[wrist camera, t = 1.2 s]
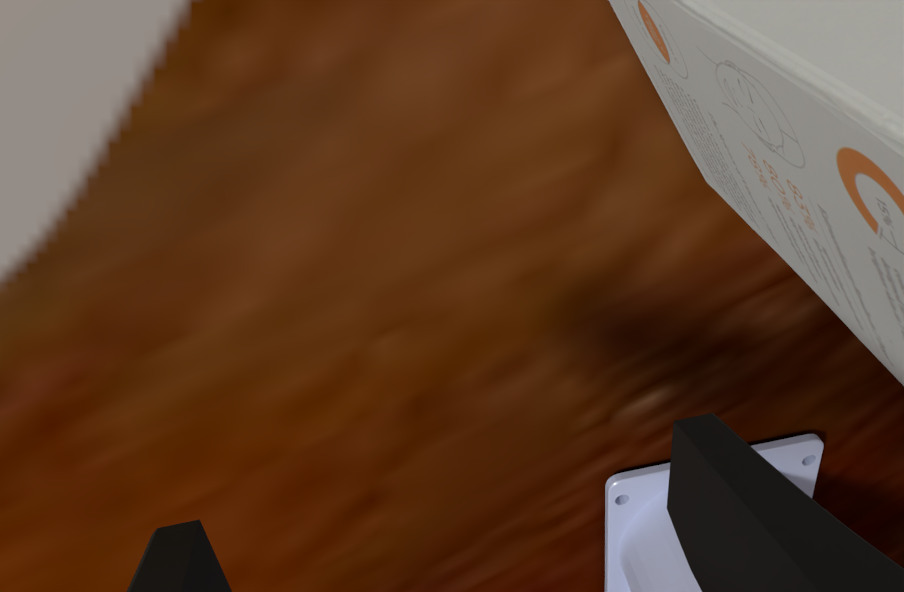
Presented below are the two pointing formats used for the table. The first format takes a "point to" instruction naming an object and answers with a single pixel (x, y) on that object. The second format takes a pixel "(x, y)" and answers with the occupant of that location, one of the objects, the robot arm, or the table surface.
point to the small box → (797, 135)
